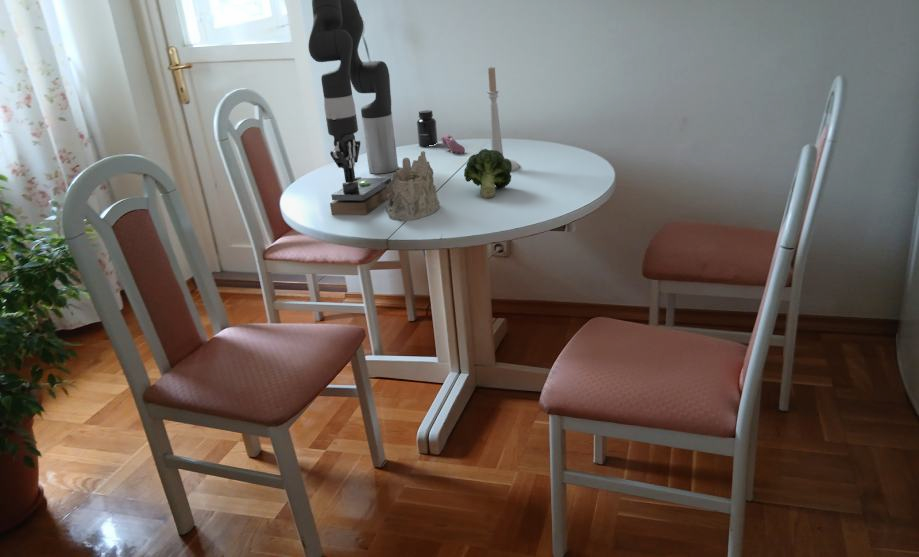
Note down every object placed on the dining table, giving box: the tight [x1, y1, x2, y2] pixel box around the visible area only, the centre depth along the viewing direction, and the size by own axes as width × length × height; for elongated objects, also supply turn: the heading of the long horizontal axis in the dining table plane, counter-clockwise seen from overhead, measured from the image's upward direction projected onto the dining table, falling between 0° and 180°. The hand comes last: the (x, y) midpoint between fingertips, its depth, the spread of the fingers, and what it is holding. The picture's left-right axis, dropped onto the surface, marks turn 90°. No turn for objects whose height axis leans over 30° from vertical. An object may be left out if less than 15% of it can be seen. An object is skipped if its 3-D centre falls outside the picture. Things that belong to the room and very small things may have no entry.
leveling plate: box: [331, 177, 392, 201], centre depth 198 cm, size 18×9×4 cm, turn 162°
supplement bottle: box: [416, 109, 439, 147], centre depth 262 cm, size 7×7×12 cm
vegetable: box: [463, 148, 512, 199], centre depth 199 cm, size 12×13×15 cm
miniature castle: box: [385, 150, 441, 222], centre depth 188 cm, size 16×16×15 cm
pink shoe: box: [440, 134, 466, 154], centre depth 250 cm, size 10×5×7 cm, turn 18°
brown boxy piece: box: [329, 176, 388, 216], centre depth 200 cm, size 20×13×5 cm, turn 162°
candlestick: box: [486, 66, 520, 173], centre depth 219 cm, size 13×13×30 cm
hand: (350, 181), depth 192 cm, fingers closed
